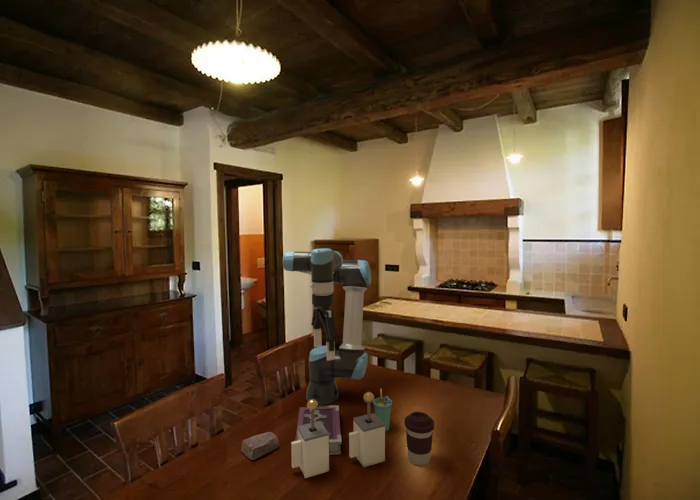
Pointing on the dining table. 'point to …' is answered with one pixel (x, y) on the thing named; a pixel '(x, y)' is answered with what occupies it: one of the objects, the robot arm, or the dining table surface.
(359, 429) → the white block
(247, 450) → the stone
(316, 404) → the plunger
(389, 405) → the cup
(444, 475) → the dining table surface
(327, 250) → the robot arm
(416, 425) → the coffee cup
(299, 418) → the book
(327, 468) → the cream joystick box
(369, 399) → the plunger
